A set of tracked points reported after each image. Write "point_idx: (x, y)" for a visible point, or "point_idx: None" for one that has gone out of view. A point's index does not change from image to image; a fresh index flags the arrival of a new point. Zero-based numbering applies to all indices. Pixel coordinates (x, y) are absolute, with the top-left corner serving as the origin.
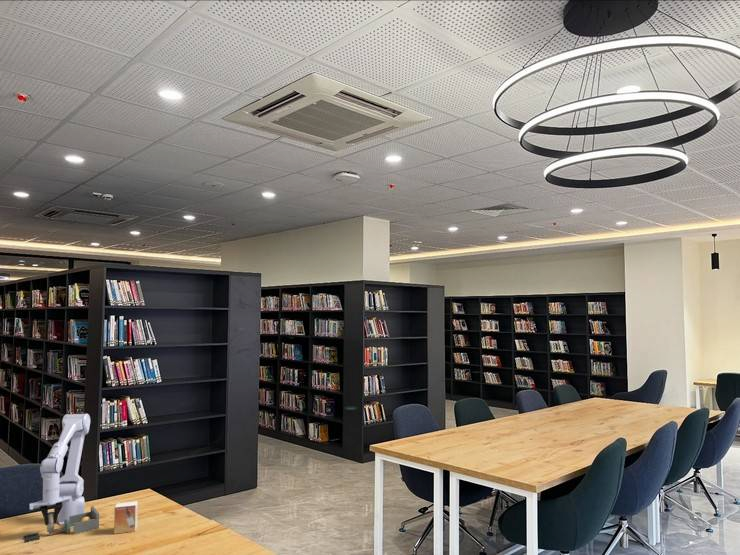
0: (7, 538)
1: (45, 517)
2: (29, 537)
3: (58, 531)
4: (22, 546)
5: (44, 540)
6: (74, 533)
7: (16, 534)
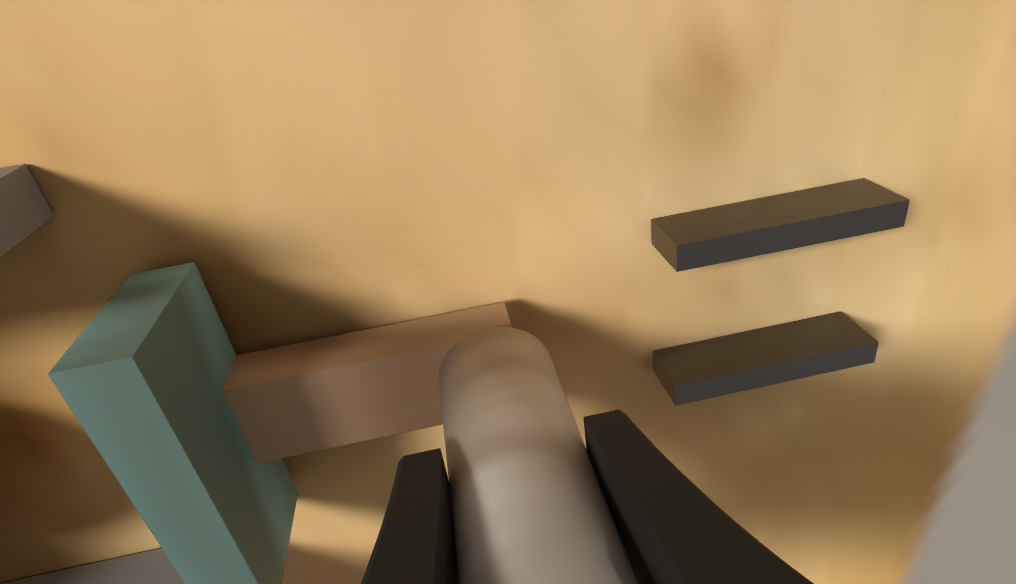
0: (953, 443)
1: (737, 556)
2: (774, 336)
3: (360, 344)
4: (931, 19)
5: (582, 125)
6: (11, 171)
7: (846, 516)
